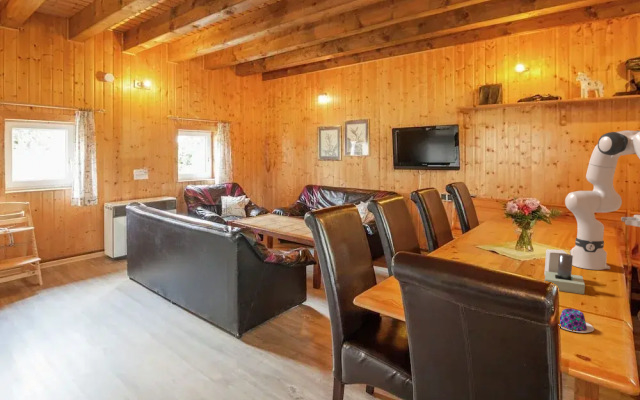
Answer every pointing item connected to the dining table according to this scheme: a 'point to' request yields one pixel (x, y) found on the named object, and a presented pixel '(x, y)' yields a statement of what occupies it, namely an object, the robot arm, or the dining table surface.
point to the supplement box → (552, 260)
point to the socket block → (567, 282)
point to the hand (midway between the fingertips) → (623, 220)
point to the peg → (565, 266)
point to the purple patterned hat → (574, 321)
